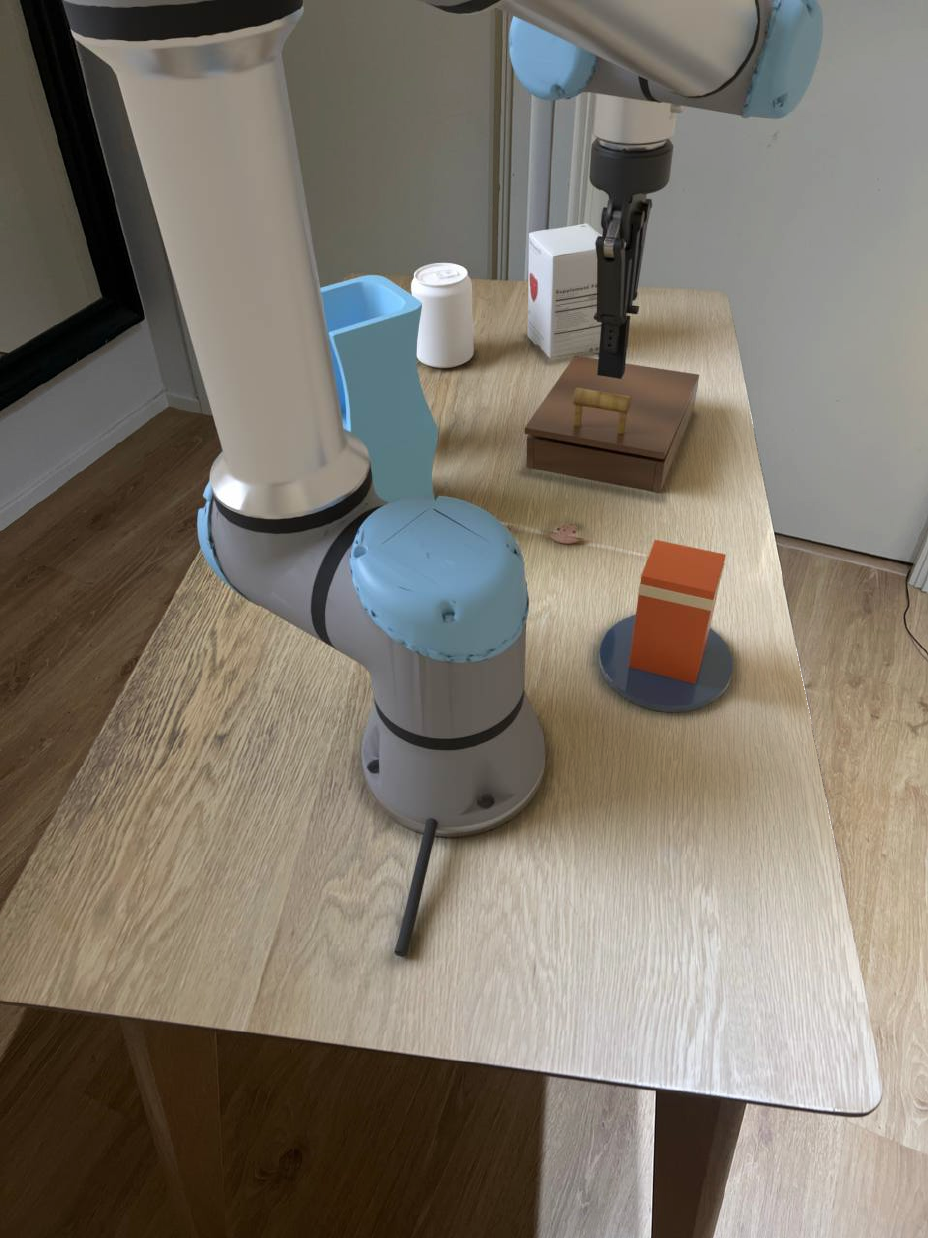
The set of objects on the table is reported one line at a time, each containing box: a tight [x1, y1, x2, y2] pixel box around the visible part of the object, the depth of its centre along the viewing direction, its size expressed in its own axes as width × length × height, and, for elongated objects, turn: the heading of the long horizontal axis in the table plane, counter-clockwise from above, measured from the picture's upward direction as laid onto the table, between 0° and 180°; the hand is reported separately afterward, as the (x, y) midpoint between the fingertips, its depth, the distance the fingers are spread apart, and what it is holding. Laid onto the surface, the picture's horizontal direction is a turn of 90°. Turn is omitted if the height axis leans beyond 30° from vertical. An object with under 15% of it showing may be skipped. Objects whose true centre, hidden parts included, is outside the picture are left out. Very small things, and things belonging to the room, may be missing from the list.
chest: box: [525, 382, 699, 494], centre depth 106 cm, size 19×16×5 cm
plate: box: [598, 614, 734, 713], centre depth 81 cm, size 12×12×1 cm
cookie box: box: [629, 539, 727, 684], centre depth 77 cm, size 5×6×11 cm
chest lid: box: [524, 355, 700, 459], centre depth 102 cm, size 20×16×5 cm
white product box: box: [527, 222, 603, 358], centre depth 122 cm, size 9×9×15 cm
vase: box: [320, 274, 439, 503], centre depth 90 cm, size 10×10×25 cm
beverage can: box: [410, 262, 475, 369], centre depth 121 cm, size 8×8×12 cm
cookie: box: [547, 523, 583, 545], centre depth 95 cm, size 4×4×1 cm
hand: (610, 373), depth 98 cm, fingers closed
